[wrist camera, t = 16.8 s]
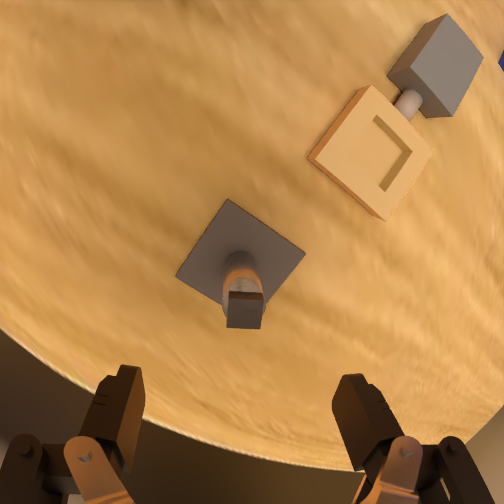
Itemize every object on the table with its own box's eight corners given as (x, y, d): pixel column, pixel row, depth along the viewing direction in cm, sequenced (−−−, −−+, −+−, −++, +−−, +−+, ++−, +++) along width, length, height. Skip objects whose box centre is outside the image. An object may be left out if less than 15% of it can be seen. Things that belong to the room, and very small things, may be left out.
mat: (176, 274, 31) (175, 277, 31) (227, 198, 29) (227, 199, 28) (250, 319, 34) (250, 321, 33) (304, 252, 31) (305, 254, 31)
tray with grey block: (373, 215, 31) (395, 227, 26) (306, 158, 28) (321, 160, 23) (466, 71, 25) (490, 66, 20) (416, 15, 22) (438, 4, 18)
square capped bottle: (225, 249, 30) (223, 292, 21) (258, 252, 30) (270, 295, 21) (222, 279, 31) (221, 331, 22) (254, 281, 32) (264, 333, 22)
